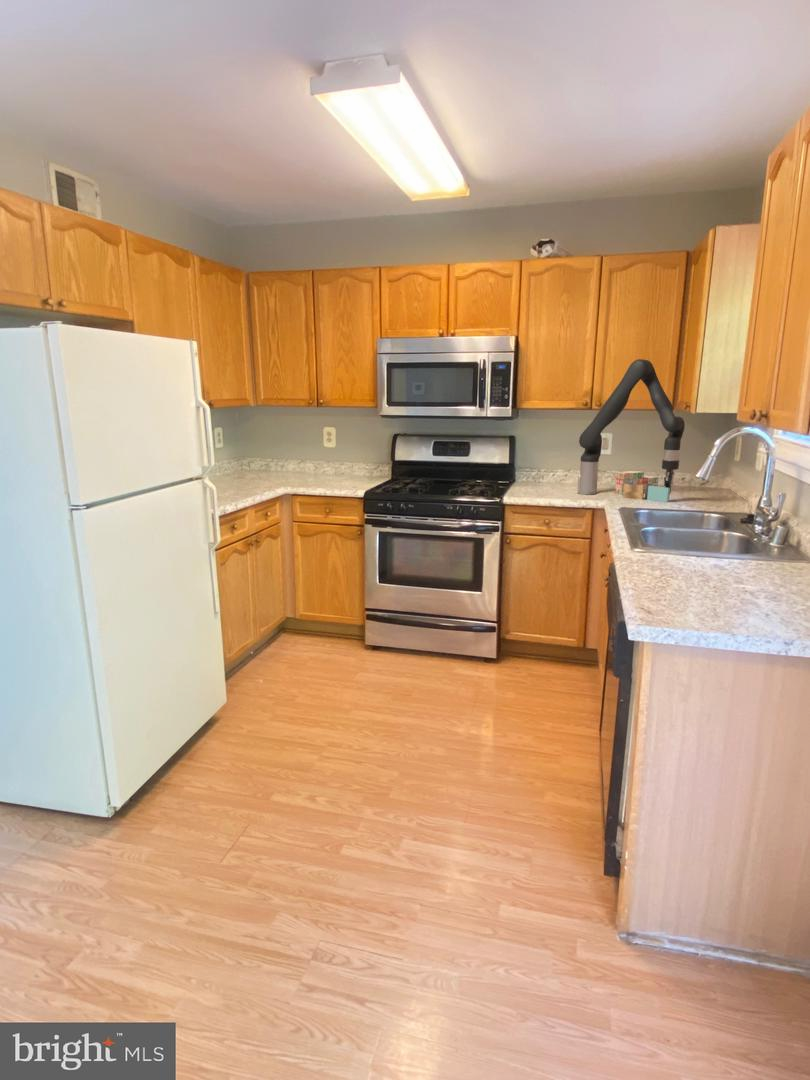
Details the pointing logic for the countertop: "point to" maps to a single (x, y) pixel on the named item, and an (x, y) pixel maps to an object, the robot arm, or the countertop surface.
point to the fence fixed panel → (635, 491)
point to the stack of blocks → (633, 480)
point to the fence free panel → (658, 493)
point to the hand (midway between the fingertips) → (667, 494)
